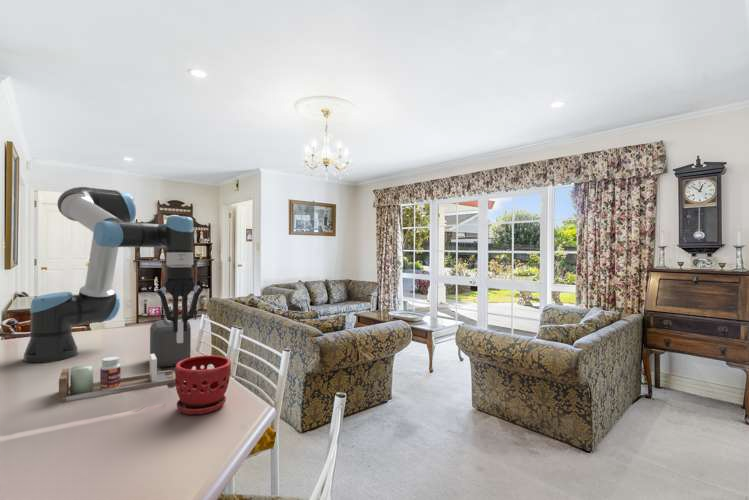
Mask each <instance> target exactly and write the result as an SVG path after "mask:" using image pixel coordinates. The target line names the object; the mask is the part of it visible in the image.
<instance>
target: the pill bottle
mask: <svg viewBox="0 0 749 500" xmlns="http://www.w3.org/2000/svg"><path fill="white" fill-rule="evenodd" d="M121 369H122V367H121V364H120V357H119V356H109V357H105V358H102V360H101V366H100V374H99V375H100V377H99V379H100V380H99V381H100V389H101V390H107V389H113V388H119V387H120V378H121V371H122V370H121Z"/></svg>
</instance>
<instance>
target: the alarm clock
mask: <svg viewBox="0 0 749 500" xmlns="http://www.w3.org/2000/svg"><path fill="white" fill-rule="evenodd" d="M172 317H173V315H172ZM181 320H182V317H181V318H178V321H181ZM191 330H192V329H191V324H190V322H189V320H188V321H187V331H183V343H177V332H173V322H172V321H168V320H167V319H166V316H165V317H164V319H158V320H156V321H154V322H153V323H151V325H150V329H149V331H150V332H149V355H150V354H155V356H156V358H157V367H159V368H166V367H167V368H168V367H173V366H174V367H176V364H177V363H178V362H180V361H181V360H184V359H187V358H191V345H192V344H191V341H192V340H191V337H192V333H191V332H192V331H191Z"/></svg>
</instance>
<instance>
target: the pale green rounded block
mask: <svg viewBox="0 0 749 500" xmlns="http://www.w3.org/2000/svg"><path fill="white" fill-rule="evenodd" d="M93 382H94V365H93V364H80V365H75V366H73V367H70V368H69V386H70V395H77V394H83V393H89V392H93Z"/></svg>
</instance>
